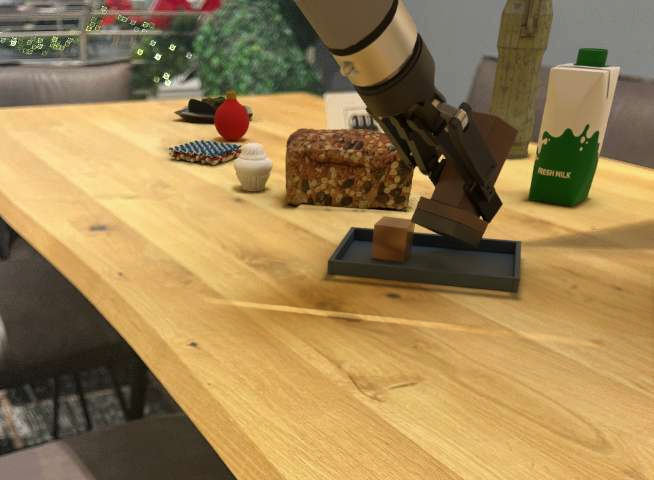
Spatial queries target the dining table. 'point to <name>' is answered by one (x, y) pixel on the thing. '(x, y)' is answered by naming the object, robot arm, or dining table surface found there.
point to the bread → (346, 170)
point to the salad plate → (204, 110)
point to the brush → (448, 197)
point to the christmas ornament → (231, 118)
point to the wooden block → (393, 239)
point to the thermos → (520, 66)
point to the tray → (433, 261)
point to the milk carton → (573, 128)
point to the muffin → (253, 167)
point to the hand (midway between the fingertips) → (476, 208)
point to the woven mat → (206, 152)
